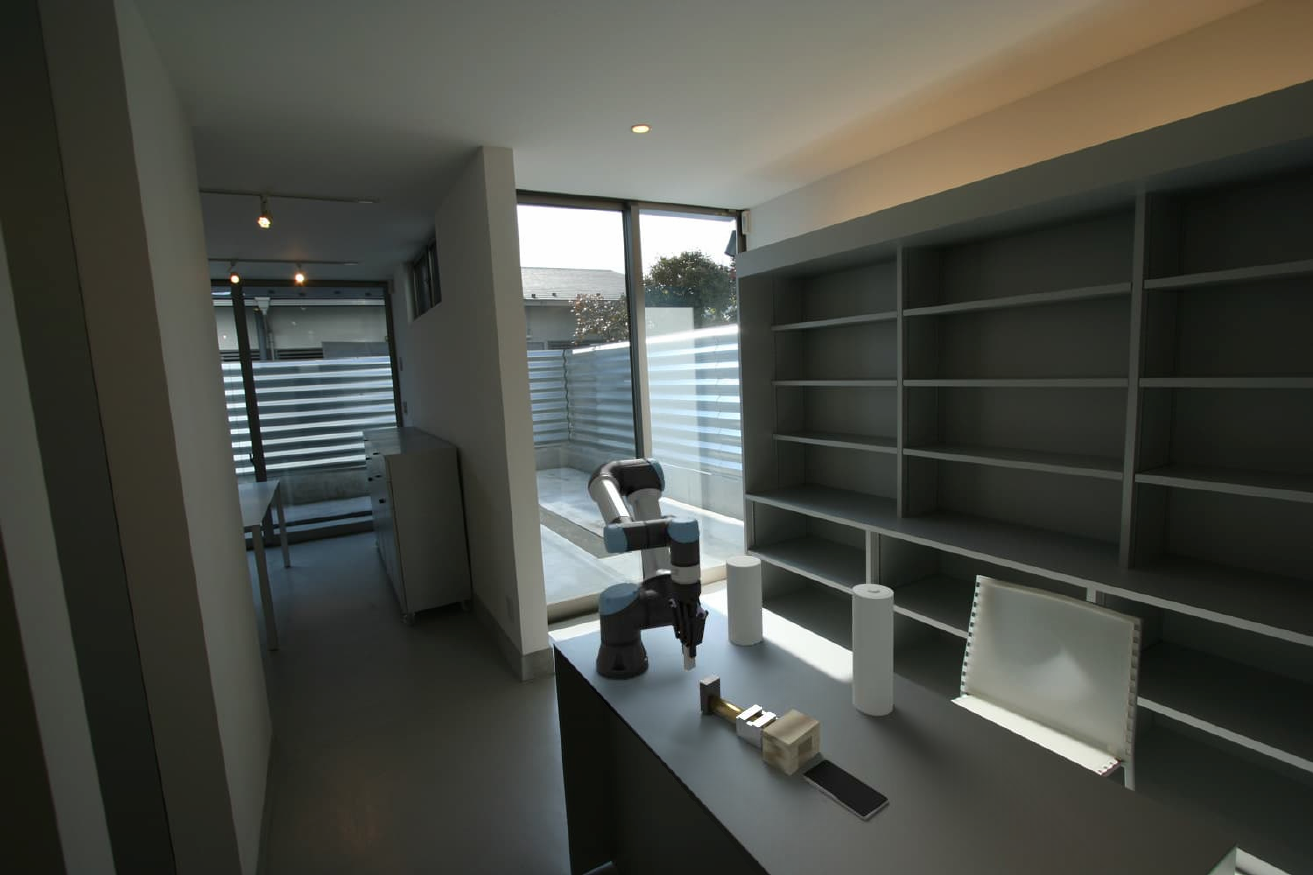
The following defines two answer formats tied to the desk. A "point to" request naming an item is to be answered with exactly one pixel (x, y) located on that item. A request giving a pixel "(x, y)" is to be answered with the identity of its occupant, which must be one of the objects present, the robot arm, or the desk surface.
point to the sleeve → (753, 725)
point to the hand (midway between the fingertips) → (689, 667)
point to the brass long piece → (718, 701)
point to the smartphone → (845, 789)
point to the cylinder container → (872, 648)
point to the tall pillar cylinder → (744, 600)
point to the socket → (791, 741)
